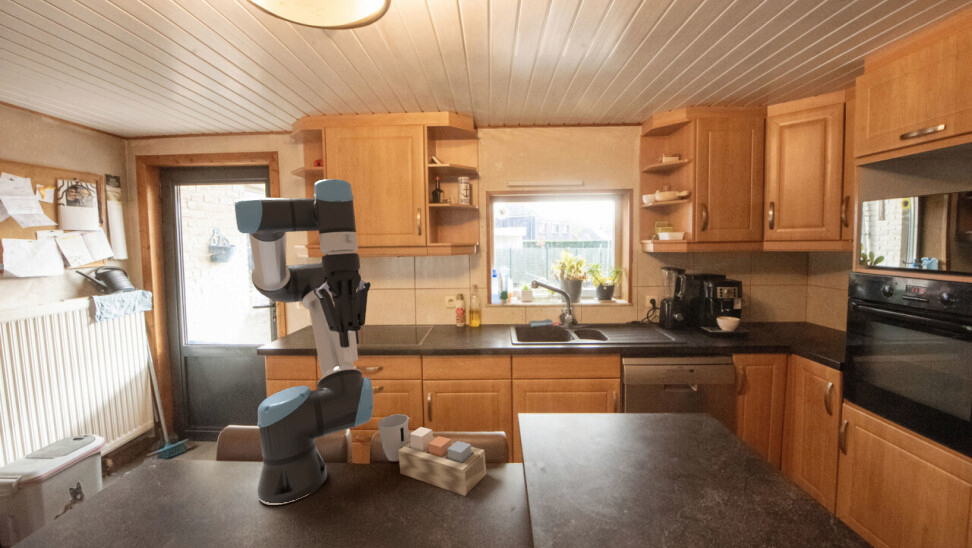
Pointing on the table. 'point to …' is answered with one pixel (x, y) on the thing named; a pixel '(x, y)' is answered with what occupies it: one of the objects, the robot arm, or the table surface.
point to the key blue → (459, 452)
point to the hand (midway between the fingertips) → (351, 360)
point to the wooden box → (443, 469)
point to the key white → (421, 439)
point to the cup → (394, 434)
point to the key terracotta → (439, 446)
